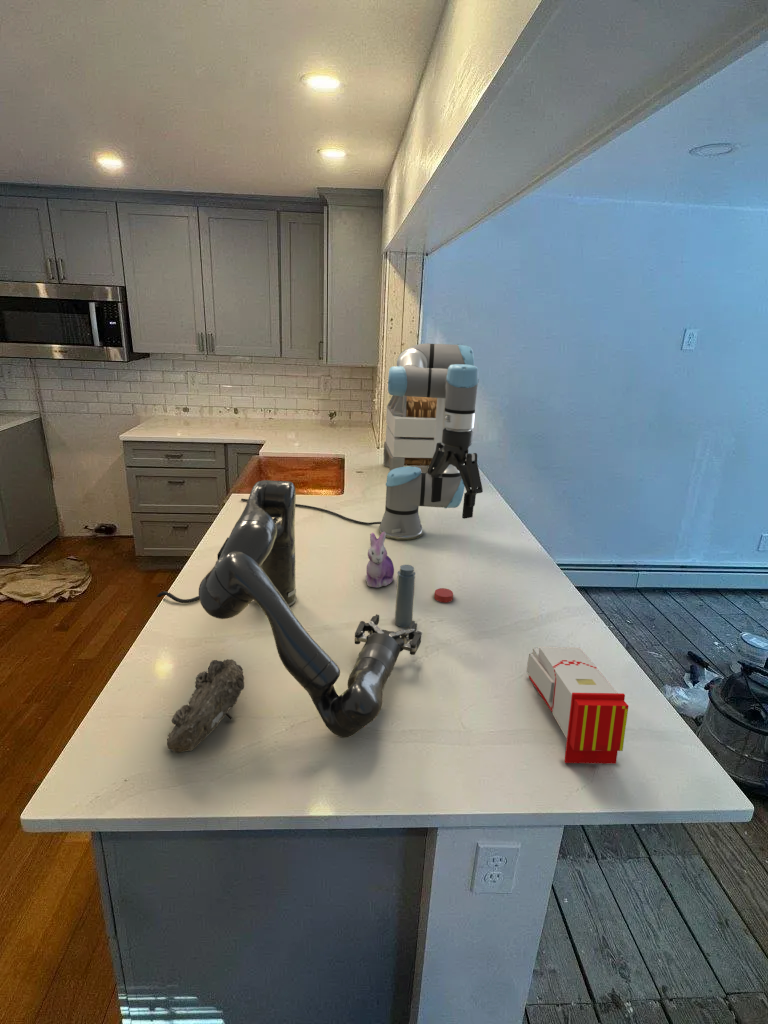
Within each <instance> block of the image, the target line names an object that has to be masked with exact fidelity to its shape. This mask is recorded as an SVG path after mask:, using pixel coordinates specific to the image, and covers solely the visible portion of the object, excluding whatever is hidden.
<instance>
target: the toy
mask: <svg viewBox="0 0 768 1024" xmlns="http://www.w3.org/2000/svg"><path fill="white" fill-rule="evenodd" d="M526 673H527V674H528V675H529V676H528V679H529V680H530V682H531V683H532V685H533V686H534V688H535V689H536V691H537V692H538V694H539V695H540V697H541V698H542V700H543V701H544V703H545V704H546V706H547V708H548V710H550V712H551V713H552V715H553V718H554V719H555V721H556V722H557V724H558V726H559V728H560V729H561V731H562V733H563V735H564V736H565V738H566V743H565V744H566V745H565V752H564V763H565V764H602V765H603V764H606V765H607V764H611V765H613V764H614V765H616V764H617V761H618V760H617V759H618V753H619V752H623V750H624V744H625V735H626V728H627V721H628V714H629V713H628V712H629V705H628V704H627V702H626V701H625V699H626V694H625V693H621V692H620V693H618V692H617V690H616V689H615V687H613V685H612V683H610V682H609V680H608V679H607V678H606V677H605V676H604V675H603V673H602V672H601V671H600V669H598V668H597V665H595V664H594V662H593V661H592V660H591V659H590V658H589V657H588V655H587V654H586V653H585V652H584V650H583V649H582V648H581V647H570V646H567V647H565V646H539V647H532V652H529V653H528V658H527V665H526Z"/></svg>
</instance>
